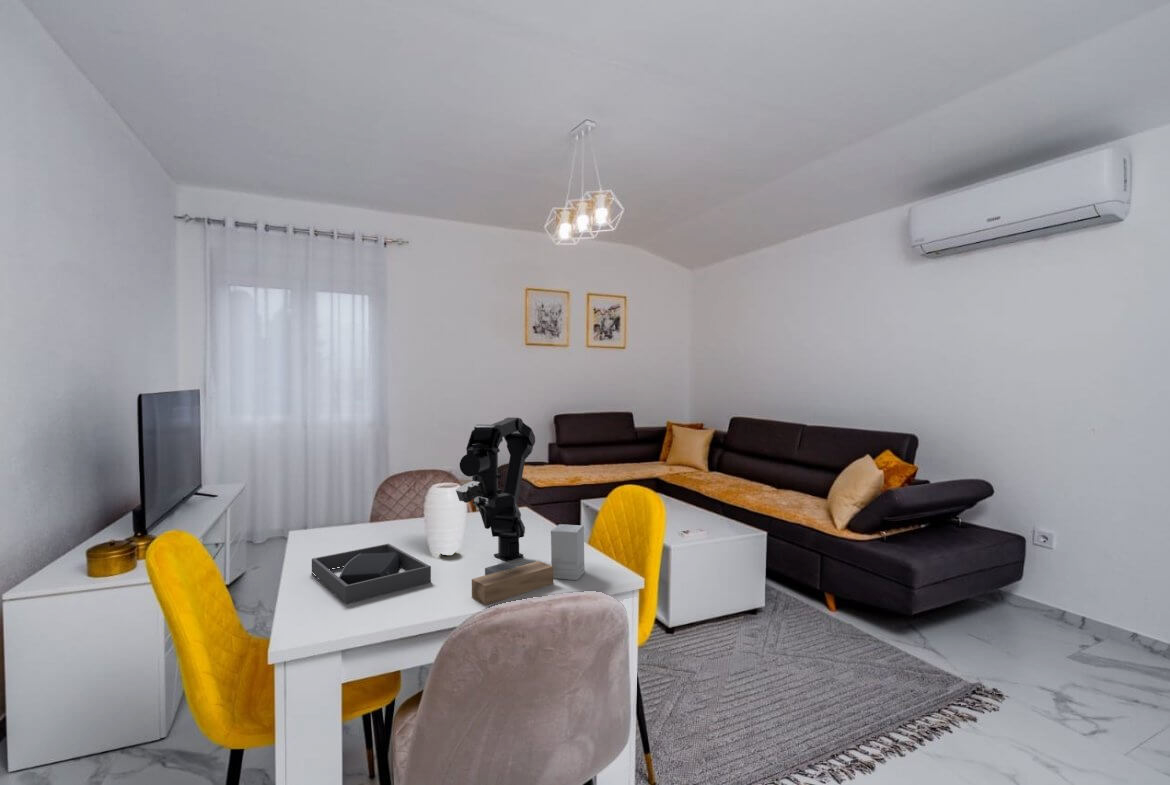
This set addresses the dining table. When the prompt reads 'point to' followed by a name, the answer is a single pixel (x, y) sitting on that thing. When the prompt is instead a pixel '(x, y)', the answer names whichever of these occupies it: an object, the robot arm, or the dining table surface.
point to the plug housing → (498, 568)
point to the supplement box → (567, 551)
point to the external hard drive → (369, 567)
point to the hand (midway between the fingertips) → (487, 528)
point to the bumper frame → (374, 587)
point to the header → (511, 582)
